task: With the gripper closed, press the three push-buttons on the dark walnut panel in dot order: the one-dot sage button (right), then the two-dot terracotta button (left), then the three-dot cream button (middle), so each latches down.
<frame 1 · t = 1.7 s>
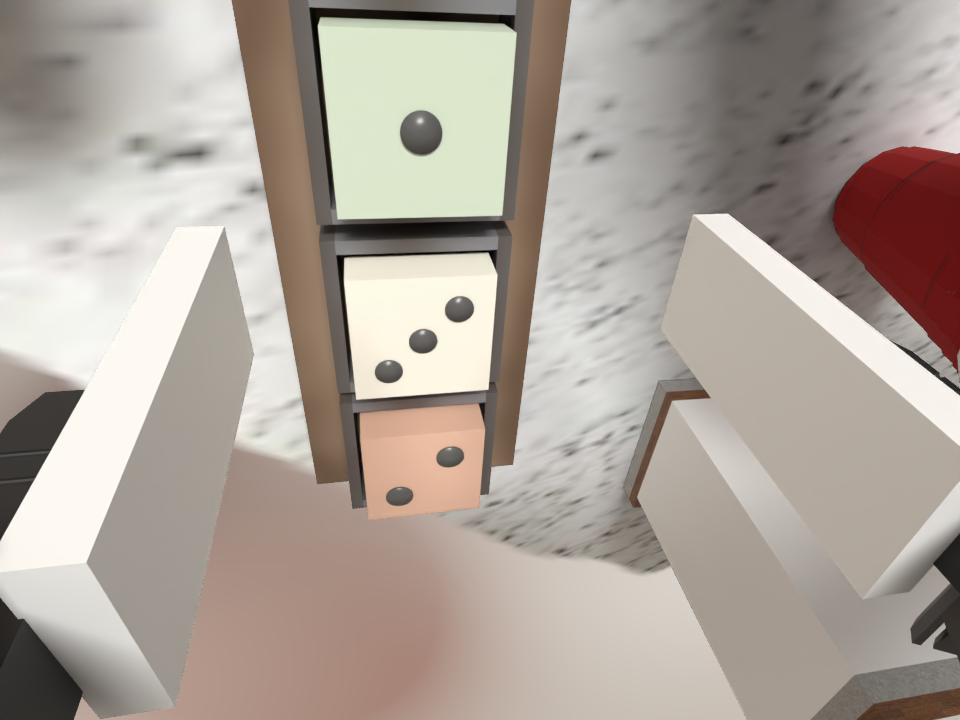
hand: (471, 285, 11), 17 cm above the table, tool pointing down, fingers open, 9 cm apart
curved tiered shelf: (709, 430, 43), on the table
button two dots: (422, 462, 30), point 6 cm above the table, slide at 0.0 cm
button one dot: (418, 124, 20), point 6 cm above the table, slide at 0.0 cm
plastic cup: (881, 195, 33), on the table
button three dots: (420, 328, 25), point 6 cm above the table, slide at 0.0 cm
button panel: (409, 261, 30), on the table
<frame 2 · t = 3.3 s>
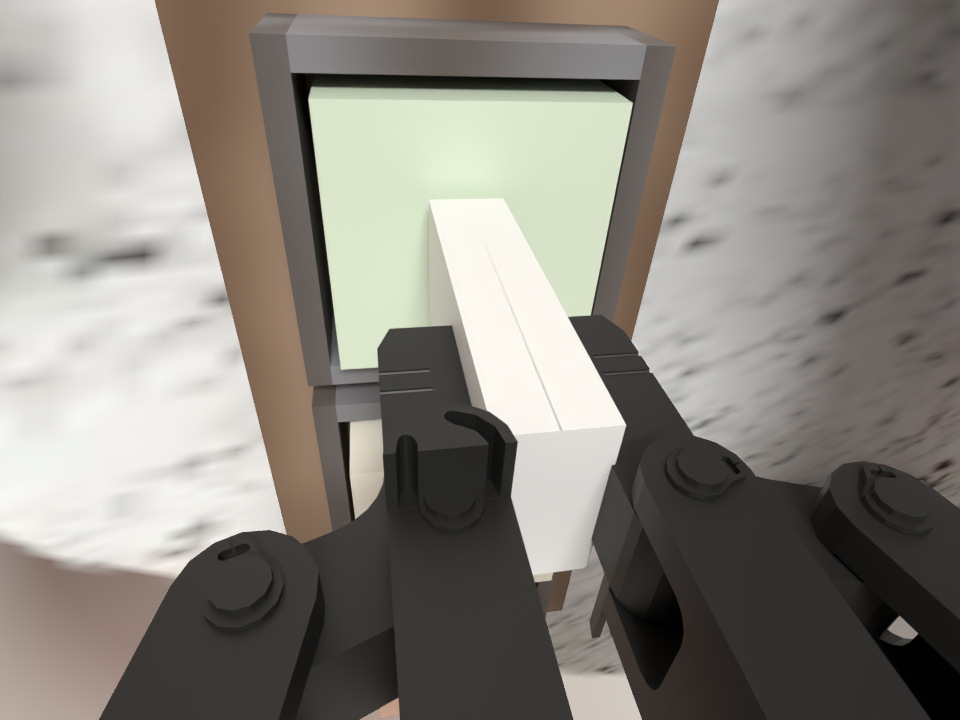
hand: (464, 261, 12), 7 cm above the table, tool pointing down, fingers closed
curved tiered shelf: (794, 542, 35), on the table
button two dots: (453, 647, 23), point 6 cm above the table, slide at 0.0 cm
button one dot: (464, 231, 13), point 5 cm above the table, slide at 1.1 cm, touching gripper
button three dots: (459, 508, 17), point 6 cm above the table, slide at 0.0 cm
button panel: (437, 378, 22), on the table
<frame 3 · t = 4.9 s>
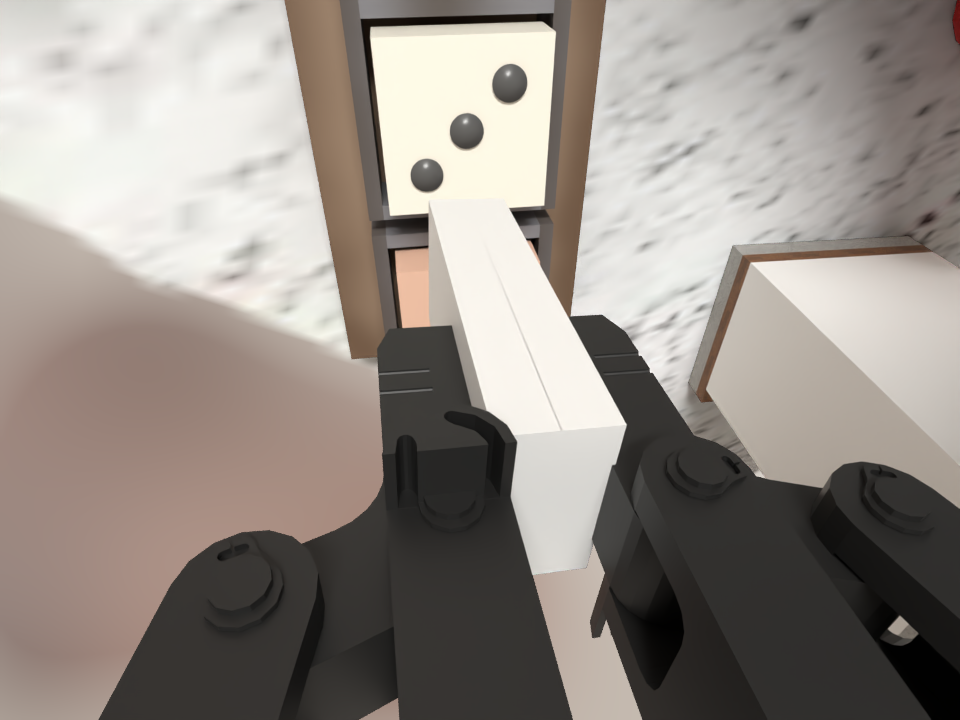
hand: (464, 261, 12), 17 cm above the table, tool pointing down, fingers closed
curved tiered shelf: (789, 312, 38), on the table
button two dots: (467, 314, 26), point 6 cm above the table, slide at 0.0 cm
button three dots: (463, 122, 21), point 6 cm above the table, slide at 0.0 cm
button panel: (446, 80, 26), on the table
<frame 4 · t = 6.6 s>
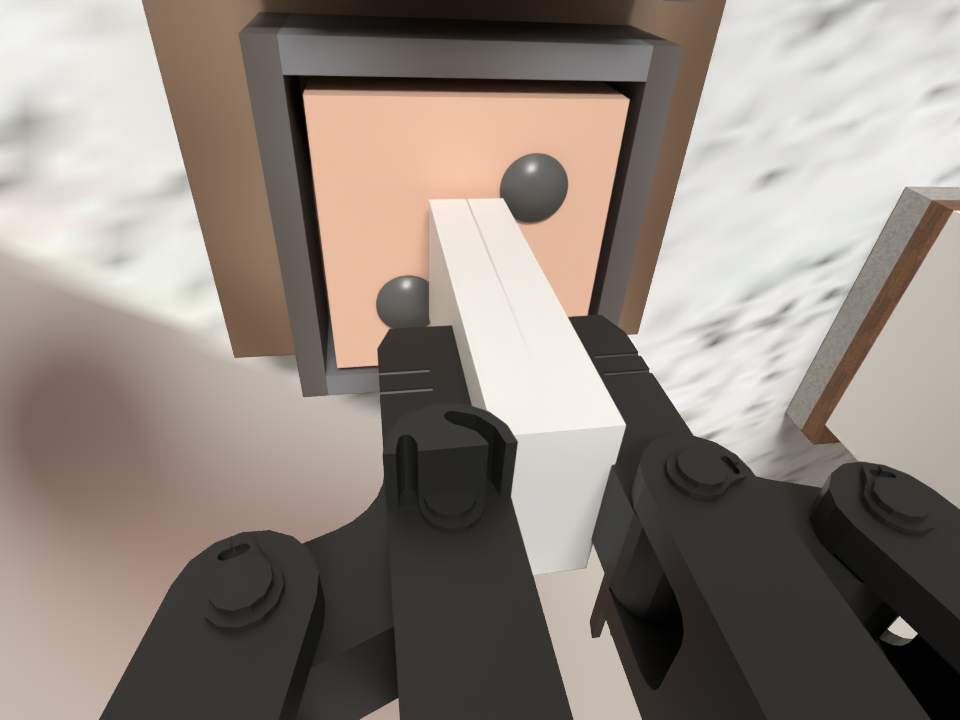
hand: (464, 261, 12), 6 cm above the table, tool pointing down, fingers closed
curved tiered shelf: (951, 308, 24), on the table
button two dots: (461, 229, 13), point 5 cm above the table, slide at 1.5 cm, touching gripper
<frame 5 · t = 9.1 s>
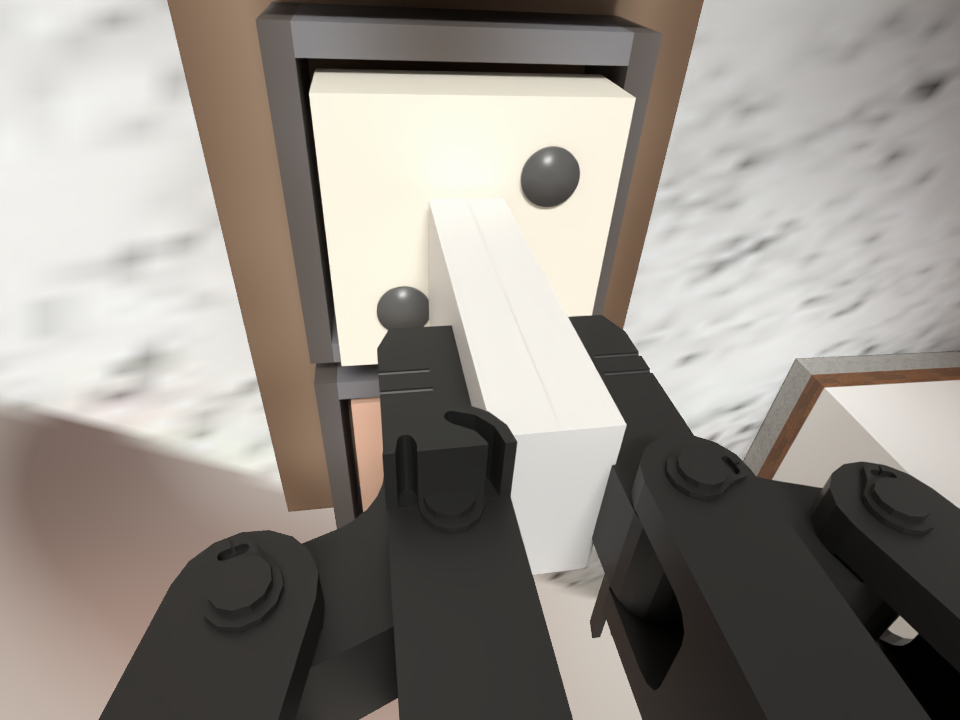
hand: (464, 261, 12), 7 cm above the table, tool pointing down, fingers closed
curved tiered shelf: (848, 431, 31), on the table
button two dots: (450, 445, 19), point 5 cm above the table, slide at 1.7 cm
button three dots: (466, 227, 13), point 6 cm above the table, slide at 0.3 cm, touching gripper
button panel: (437, 144, 18), on the table
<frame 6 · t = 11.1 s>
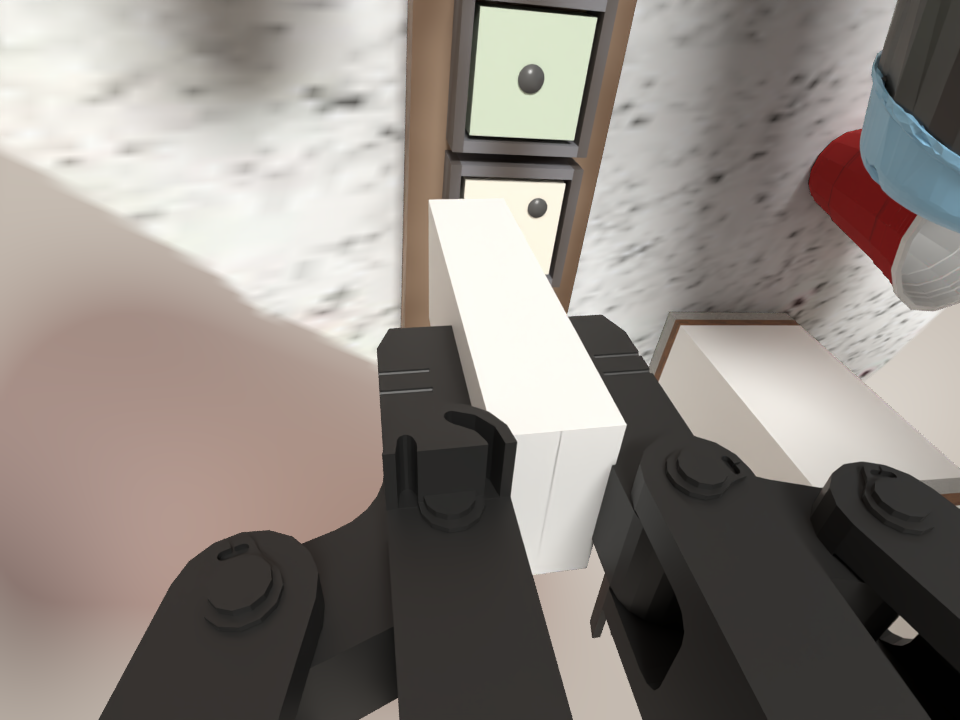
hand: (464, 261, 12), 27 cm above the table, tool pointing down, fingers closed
curved tiered shelf: (706, 360, 53), on the table
button one dot: (526, 74, 31), point 5 cm above the table, slide at 1.7 cm
plastic cup: (845, 166, 43), on the table
button three dots: (506, 224, 36), point 5 cm above the table, slide at 1.7 cm
button panel: (491, 196, 39), on the table
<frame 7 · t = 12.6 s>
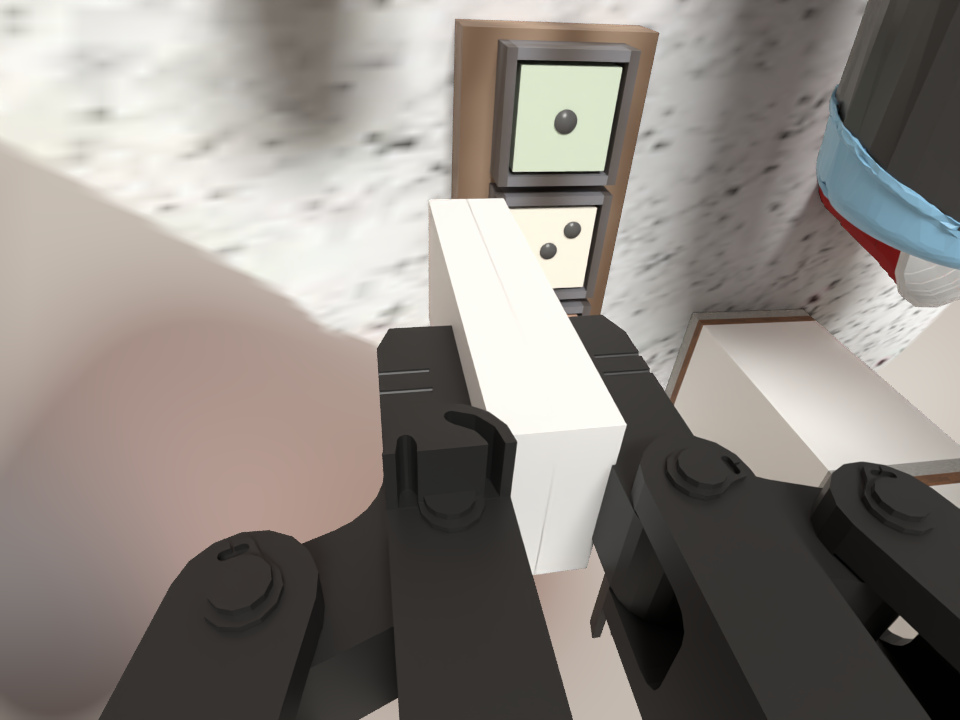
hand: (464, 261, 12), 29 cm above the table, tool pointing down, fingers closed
curved tiered shelf: (728, 355, 57), on the table
button two dots: (531, 343, 45), point 5 cm above the table, slide at 1.7 cm
button one dot: (560, 117, 35), point 5 cm above the table, slide at 1.7 cm
plastic cup: (853, 174, 47), on the table
button three dots: (544, 244, 40), point 5 cm above the table, slide at 1.7 cm
button panel: (528, 218, 44), on the table
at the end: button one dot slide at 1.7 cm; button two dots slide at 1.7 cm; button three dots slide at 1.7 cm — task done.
